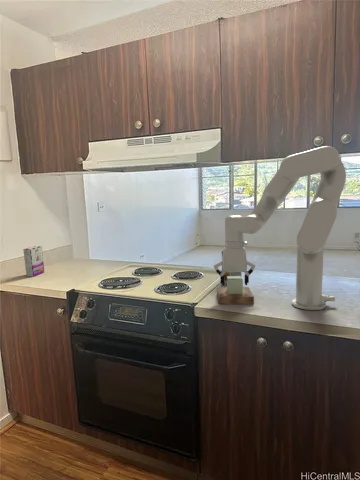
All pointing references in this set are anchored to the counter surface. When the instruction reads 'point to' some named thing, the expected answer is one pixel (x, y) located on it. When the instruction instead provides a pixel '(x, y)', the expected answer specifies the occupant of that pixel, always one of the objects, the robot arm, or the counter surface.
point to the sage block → (234, 285)
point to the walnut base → (235, 296)
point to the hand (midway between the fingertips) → (234, 284)
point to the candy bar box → (33, 261)
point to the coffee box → (230, 274)
